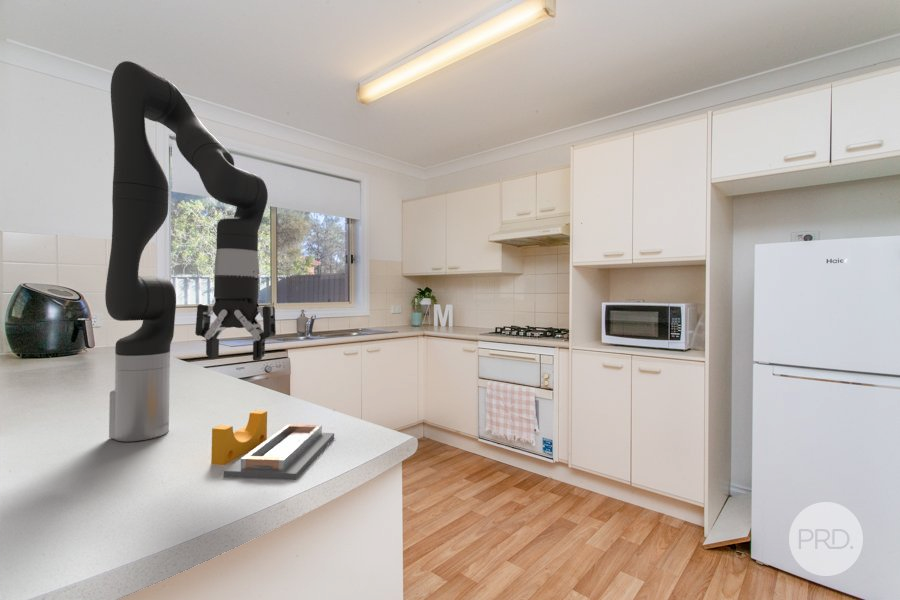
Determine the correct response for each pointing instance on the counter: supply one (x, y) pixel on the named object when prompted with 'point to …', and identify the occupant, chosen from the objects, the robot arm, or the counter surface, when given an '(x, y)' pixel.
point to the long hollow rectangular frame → (281, 448)
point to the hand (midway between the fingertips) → (235, 359)
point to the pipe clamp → (238, 439)
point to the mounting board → (292, 470)
